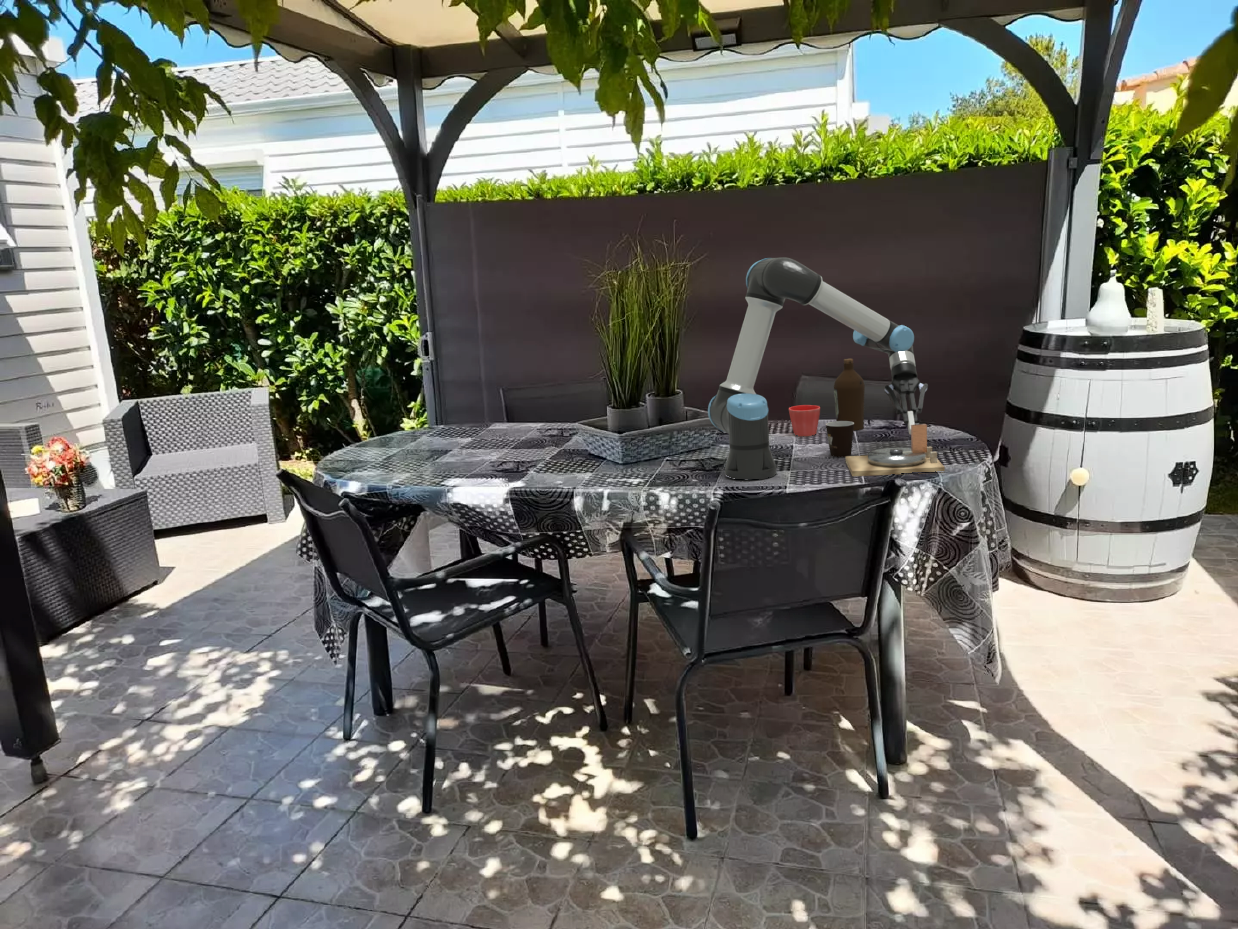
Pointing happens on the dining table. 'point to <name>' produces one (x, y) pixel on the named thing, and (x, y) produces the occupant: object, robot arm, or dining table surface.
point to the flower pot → (804, 419)
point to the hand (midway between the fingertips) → (912, 431)
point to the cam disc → (903, 451)
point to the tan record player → (864, 468)
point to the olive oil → (849, 396)
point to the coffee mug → (840, 438)
